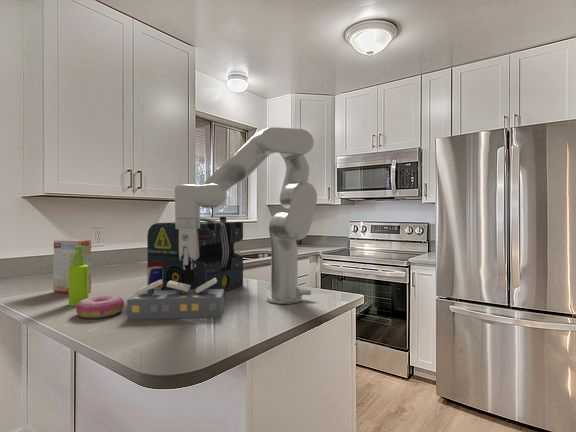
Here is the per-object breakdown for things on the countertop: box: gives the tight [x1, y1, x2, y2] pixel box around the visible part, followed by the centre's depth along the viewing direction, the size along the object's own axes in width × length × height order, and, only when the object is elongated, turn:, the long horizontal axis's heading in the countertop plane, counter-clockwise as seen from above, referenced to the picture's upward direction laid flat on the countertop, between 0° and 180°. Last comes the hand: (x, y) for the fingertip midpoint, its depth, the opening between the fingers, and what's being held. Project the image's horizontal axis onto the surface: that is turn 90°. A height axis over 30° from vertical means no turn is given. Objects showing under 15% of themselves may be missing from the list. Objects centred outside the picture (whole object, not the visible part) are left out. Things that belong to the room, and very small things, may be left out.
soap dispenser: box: [68, 246, 92, 307], centre depth 124 cm, size 6×7×20 cm
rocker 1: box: [137, 279, 163, 294], centre depth 111 cm, size 7×4×1 cm, turn 96°
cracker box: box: [53, 239, 92, 294], centre depth 142 cm, size 14×6×21 cm, turn 69°
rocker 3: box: [195, 277, 217, 293], centre depth 113 cm, size 7×4×1 cm, turn 96°
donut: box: [75, 294, 125, 319], centre depth 111 cm, size 14×13×5 cm
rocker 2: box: [166, 280, 191, 292], centre depth 112 cm, size 7×4×1 cm, turn 96°
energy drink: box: [146, 266, 163, 290], centre depth 127 cm, size 5×5×12 cm
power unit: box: [146, 216, 244, 293], centre depth 148 cm, size 28×28×30 cm
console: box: [126, 287, 225, 321], centre depth 112 cm, size 27×12×8 cm, turn 96°
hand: (189, 282), depth 112 cm, fingers closed
